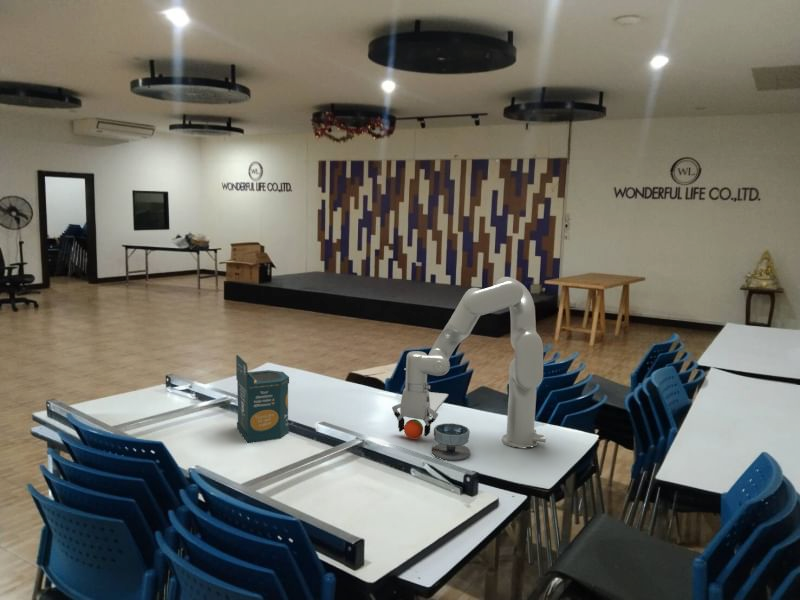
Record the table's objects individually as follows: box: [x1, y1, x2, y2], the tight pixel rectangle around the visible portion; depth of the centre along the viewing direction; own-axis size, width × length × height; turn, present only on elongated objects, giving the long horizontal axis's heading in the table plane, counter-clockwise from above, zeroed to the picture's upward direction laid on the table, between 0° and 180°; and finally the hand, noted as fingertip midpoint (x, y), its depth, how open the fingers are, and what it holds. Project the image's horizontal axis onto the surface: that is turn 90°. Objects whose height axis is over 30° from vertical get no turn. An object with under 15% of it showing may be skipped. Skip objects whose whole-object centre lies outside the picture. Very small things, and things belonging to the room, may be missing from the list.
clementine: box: [403, 418, 424, 440], centre depth 219 cm, size 8×7×7 cm
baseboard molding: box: [429, 389, 449, 418], centre depth 259 cm, size 31×3×12 cm
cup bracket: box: [431, 422, 471, 462], centre depth 207 cm, size 13×13×8 cm
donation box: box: [235, 354, 290, 444], centre depth 220 cm, size 16×16×28 cm
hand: (413, 432), depth 220 cm, fingers open, 9 cm apart
